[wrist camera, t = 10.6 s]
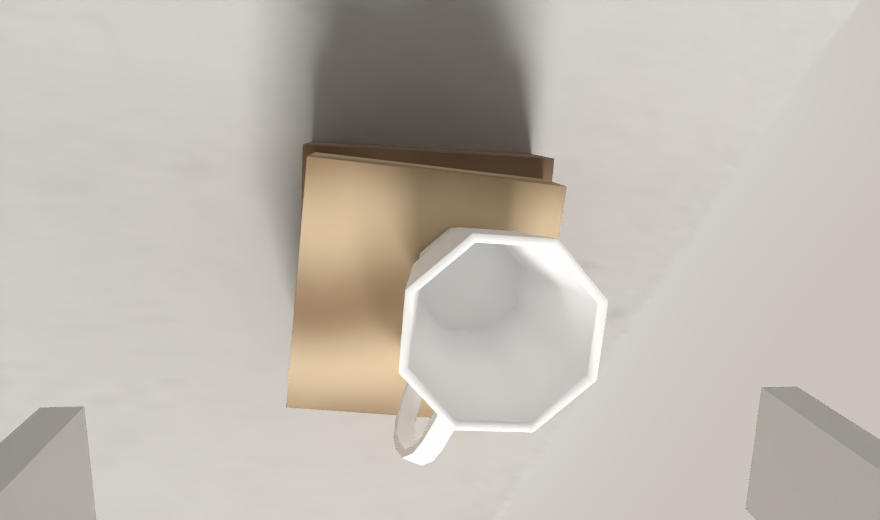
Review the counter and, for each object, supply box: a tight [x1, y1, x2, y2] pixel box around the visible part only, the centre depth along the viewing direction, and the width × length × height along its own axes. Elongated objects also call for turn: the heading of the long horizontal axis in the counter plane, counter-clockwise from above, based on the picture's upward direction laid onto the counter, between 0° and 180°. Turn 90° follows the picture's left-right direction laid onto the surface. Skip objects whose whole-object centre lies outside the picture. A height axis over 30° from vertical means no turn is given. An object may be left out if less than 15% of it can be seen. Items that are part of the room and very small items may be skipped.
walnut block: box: [302, 142, 554, 210], centre depth 35 cm, size 12×12×5 cm
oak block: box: [286, 152, 567, 418], centre depth 31 cm, size 11×11×4 cm
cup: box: [394, 227, 608, 465], centre depth 25 cm, size 7×10×8 cm
